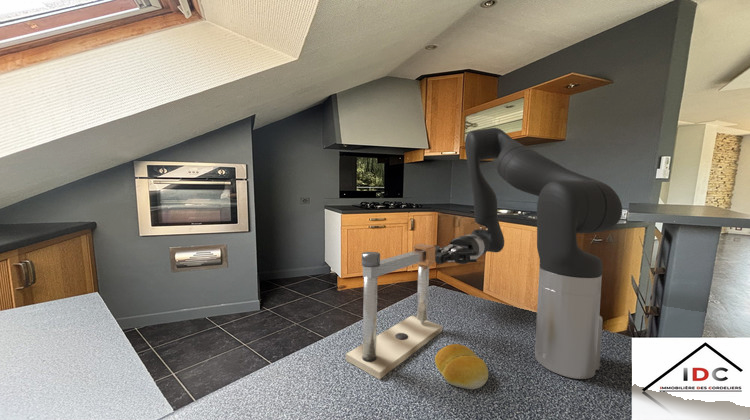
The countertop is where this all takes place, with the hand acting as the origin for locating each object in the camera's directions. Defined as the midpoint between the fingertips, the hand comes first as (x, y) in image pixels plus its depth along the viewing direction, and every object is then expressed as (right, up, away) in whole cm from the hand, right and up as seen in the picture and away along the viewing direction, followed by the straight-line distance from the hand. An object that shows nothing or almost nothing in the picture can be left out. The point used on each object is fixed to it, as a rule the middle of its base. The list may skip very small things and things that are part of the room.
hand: (438, 259), depth 69 cm
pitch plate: (-11, -15, -12) cm, 23 cm away
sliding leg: (-5, -13, -5) cm, 15 cm away
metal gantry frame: (-10, -14, -11) cm, 21 cm away
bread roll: (-1, -16, -20) cm, 26 cm away
